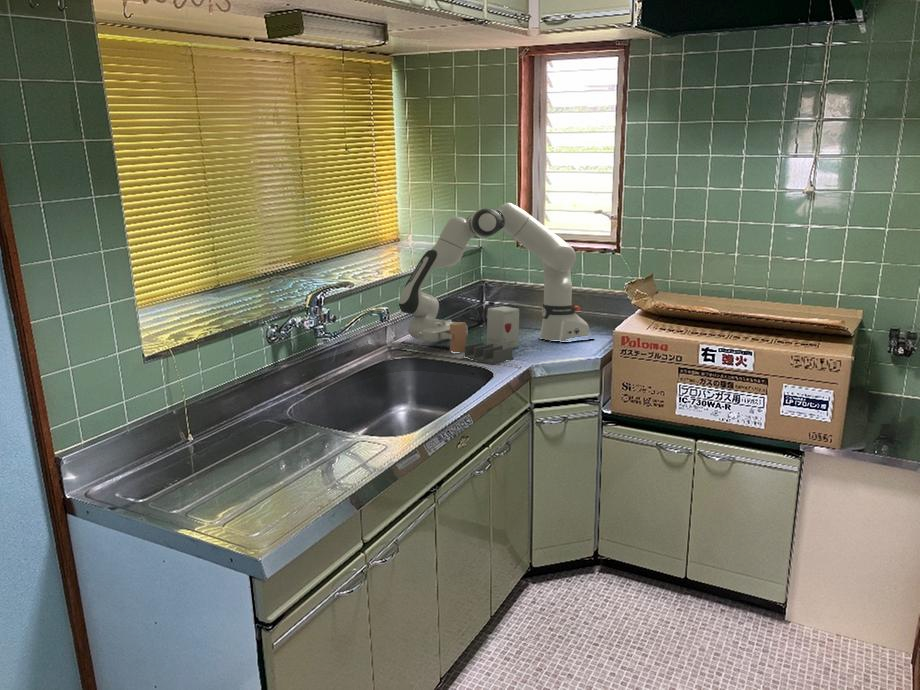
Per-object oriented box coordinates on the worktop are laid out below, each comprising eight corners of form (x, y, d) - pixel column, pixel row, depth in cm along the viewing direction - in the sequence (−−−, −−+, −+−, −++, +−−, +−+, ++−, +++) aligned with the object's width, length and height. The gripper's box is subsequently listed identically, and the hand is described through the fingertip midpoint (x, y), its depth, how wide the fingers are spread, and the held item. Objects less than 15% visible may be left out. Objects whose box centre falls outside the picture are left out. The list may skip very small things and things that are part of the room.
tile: (461, 350, 277) (461, 321, 275) (465, 351, 275) (466, 322, 273) (449, 353, 273) (449, 324, 270) (454, 354, 271) (454, 324, 269)
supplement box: (502, 350, 278) (503, 311, 275) (486, 346, 285) (486, 308, 281) (519, 347, 284) (520, 308, 281) (503, 343, 290) (503, 305, 287)
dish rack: (483, 353, 273) (483, 341, 272) (513, 359, 263) (513, 347, 262) (463, 358, 265) (463, 346, 264) (493, 364, 255) (493, 352, 254)
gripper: (413, 325, 273) (439, 330, 264) (451, 318, 288) (478, 323, 279) (413, 342, 275) (439, 348, 265) (451, 334, 289) (477, 339, 280)
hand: (459, 335), depth 272 cm, fingers closed on tile, 6 cm apart
